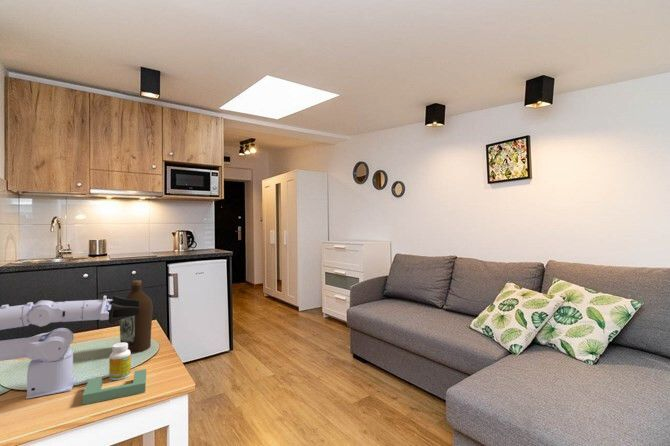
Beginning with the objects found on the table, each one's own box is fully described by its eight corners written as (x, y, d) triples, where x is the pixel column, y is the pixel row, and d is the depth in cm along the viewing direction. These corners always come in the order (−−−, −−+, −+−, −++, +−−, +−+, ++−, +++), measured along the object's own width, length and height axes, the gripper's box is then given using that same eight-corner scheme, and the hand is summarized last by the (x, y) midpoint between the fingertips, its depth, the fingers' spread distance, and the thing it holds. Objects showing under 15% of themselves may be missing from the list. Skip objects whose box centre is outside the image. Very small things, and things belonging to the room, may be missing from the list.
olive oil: (136, 341, 126) (137, 277, 126) (159, 345, 123) (159, 279, 123) (111, 352, 116) (111, 282, 116) (134, 356, 113) (135, 284, 113)
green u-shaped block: (82, 405, 84) (82, 395, 84) (89, 387, 92) (89, 379, 92) (145, 391, 91) (145, 383, 91) (146, 377, 99) (146, 368, 99)
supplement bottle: (122, 381, 96) (123, 348, 96) (104, 380, 96) (105, 348, 96) (134, 372, 102) (134, 341, 102) (117, 372, 102) (117, 341, 102)
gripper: (81, 303, 88) (139, 300, 95) (88, 290, 101) (139, 289, 108) (79, 329, 89) (137, 324, 95) (87, 313, 101) (138, 310, 108)
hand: (138, 307), depth 102 cm, fingers open, 7 cm apart
